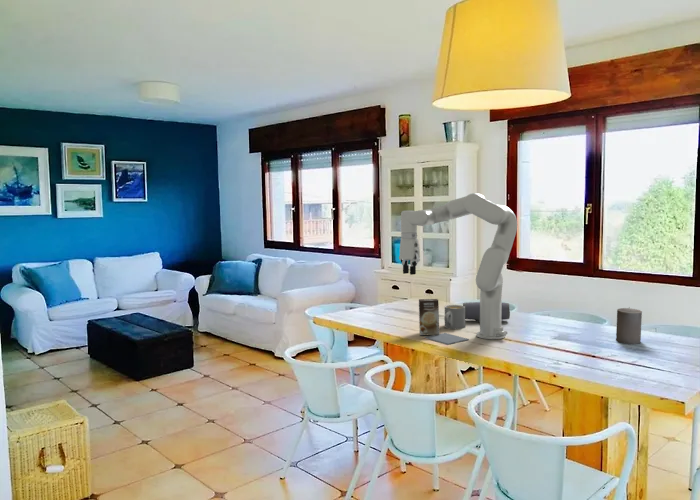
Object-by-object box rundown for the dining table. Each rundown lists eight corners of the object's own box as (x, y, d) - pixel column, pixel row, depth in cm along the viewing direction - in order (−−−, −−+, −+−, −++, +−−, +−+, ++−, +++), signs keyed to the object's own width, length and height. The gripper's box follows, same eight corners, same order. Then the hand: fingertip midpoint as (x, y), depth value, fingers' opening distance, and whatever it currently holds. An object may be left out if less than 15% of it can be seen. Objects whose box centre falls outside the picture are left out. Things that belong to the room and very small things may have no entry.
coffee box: (419, 335, 256) (418, 301, 255) (419, 332, 262) (418, 299, 262) (440, 334, 255) (438, 300, 254) (439, 332, 261) (437, 298, 261)
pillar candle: (610, 339, 243) (611, 306, 242) (627, 337, 247) (628, 304, 245) (629, 345, 234) (630, 310, 233) (646, 342, 237) (647, 308, 236)
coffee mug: (454, 323, 281) (454, 304, 280) (469, 326, 273) (469, 306, 272) (435, 327, 273) (435, 307, 272) (450, 331, 265) (450, 310, 264)
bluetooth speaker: (506, 319, 288) (506, 300, 288) (510, 323, 279) (510, 303, 278) (462, 319, 291) (462, 300, 290) (464, 323, 282) (464, 303, 281)
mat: (468, 340, 247) (468, 338, 247) (448, 344, 240) (448, 343, 240) (445, 333, 259) (445, 332, 259) (424, 338, 252) (424, 337, 252)
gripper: (426, 236, 261) (427, 275, 263) (403, 235, 275) (403, 271, 277) (414, 237, 257) (415, 276, 259) (391, 235, 271) (392, 273, 272)
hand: (409, 273), depth 268 cm, fingers open, 4 cm apart
